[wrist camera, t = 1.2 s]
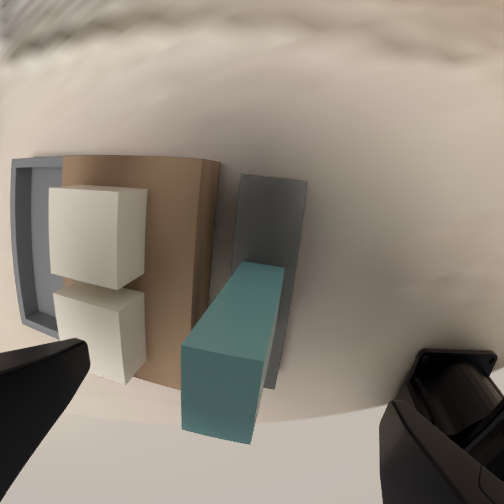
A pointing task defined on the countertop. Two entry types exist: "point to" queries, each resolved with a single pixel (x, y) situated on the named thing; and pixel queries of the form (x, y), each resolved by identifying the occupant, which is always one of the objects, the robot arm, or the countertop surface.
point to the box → (34, 240)
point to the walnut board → (164, 245)
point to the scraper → (245, 314)
